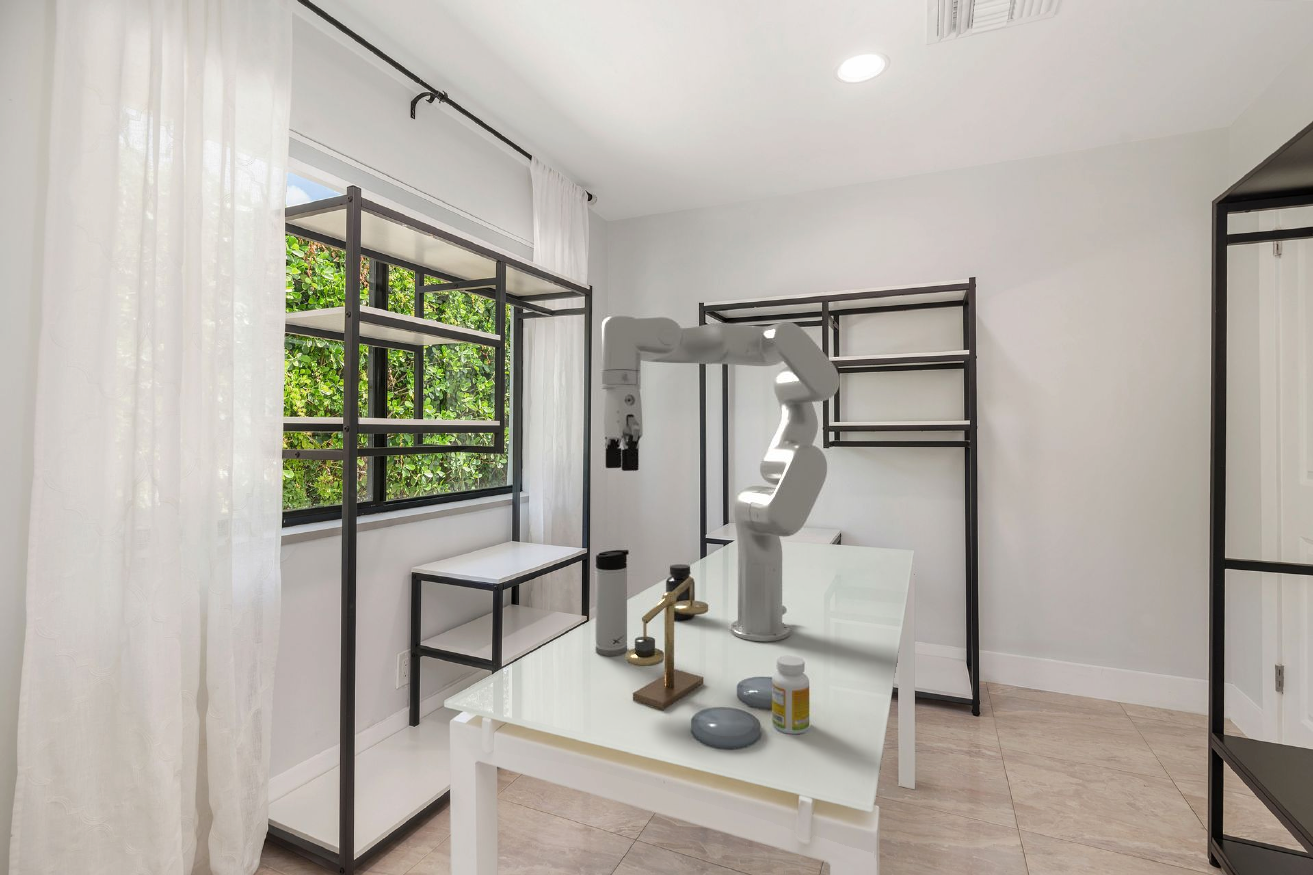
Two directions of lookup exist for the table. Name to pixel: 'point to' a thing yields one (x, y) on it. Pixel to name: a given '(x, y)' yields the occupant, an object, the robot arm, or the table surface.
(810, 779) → the table surface
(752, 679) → the dish high side
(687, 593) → the supplement bottle
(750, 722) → the dish low side
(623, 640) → the travel mug
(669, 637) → the balance
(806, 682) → the supplement bottle
